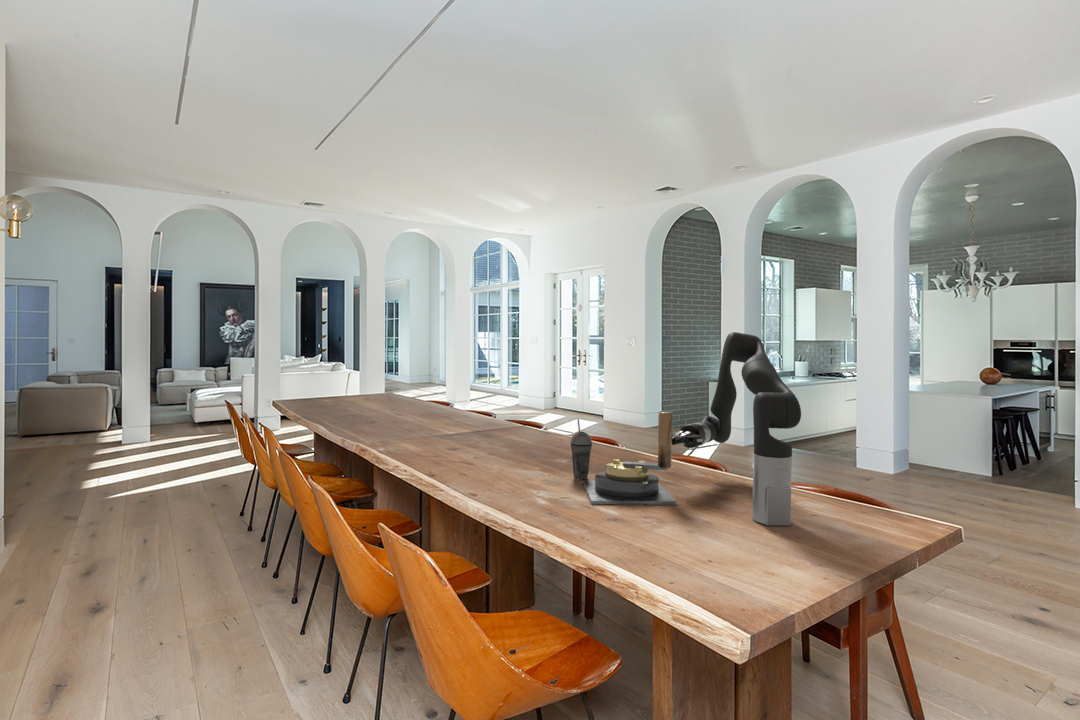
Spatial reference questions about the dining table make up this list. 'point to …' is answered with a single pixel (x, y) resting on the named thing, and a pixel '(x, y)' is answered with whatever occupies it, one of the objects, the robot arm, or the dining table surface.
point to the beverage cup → (581, 454)
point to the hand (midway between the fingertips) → (671, 441)
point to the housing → (627, 491)
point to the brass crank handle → (641, 469)
